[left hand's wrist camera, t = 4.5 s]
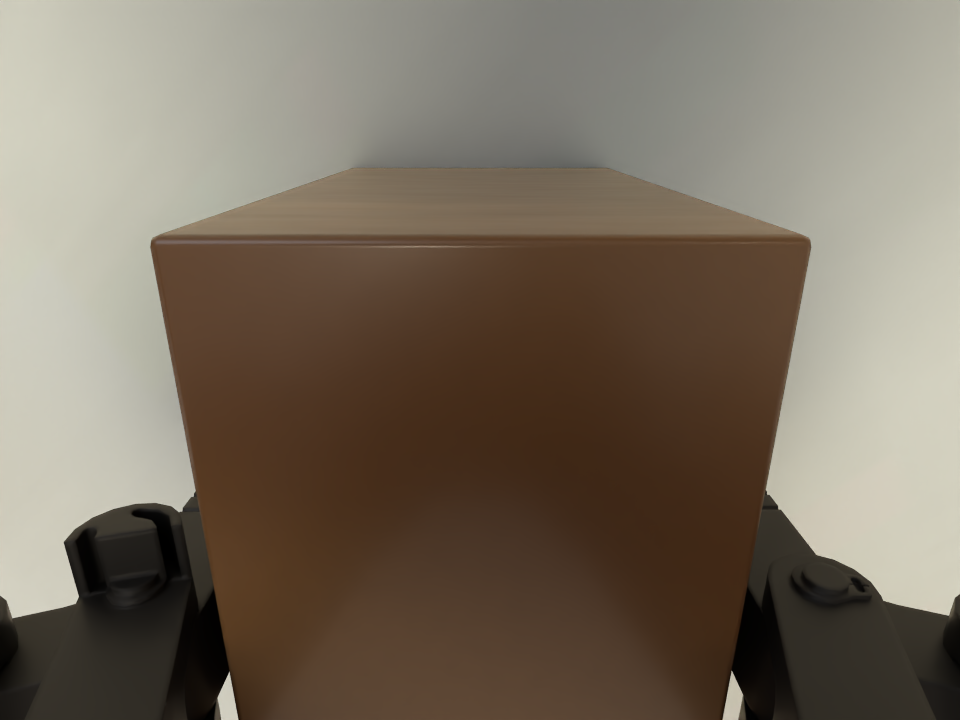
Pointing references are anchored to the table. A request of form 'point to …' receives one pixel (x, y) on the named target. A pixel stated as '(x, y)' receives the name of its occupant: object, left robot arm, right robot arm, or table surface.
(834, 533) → the table surface
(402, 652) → the beam
